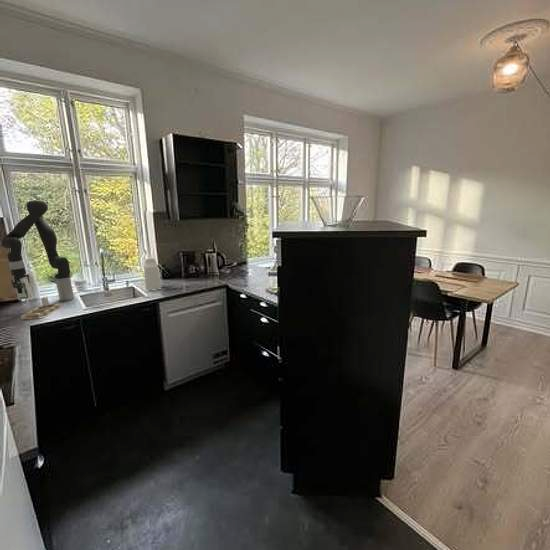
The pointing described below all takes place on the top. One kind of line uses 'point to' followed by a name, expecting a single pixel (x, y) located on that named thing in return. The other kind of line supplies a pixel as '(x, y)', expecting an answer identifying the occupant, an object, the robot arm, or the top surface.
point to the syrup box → (24, 289)
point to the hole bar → (40, 311)
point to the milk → (152, 274)
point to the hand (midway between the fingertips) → (23, 291)
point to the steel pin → (45, 302)
